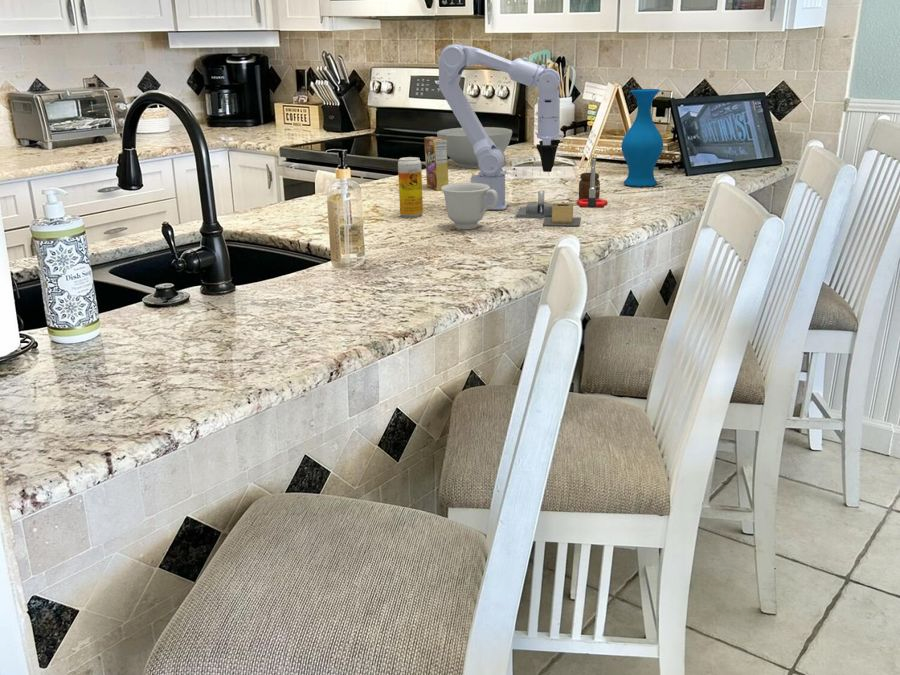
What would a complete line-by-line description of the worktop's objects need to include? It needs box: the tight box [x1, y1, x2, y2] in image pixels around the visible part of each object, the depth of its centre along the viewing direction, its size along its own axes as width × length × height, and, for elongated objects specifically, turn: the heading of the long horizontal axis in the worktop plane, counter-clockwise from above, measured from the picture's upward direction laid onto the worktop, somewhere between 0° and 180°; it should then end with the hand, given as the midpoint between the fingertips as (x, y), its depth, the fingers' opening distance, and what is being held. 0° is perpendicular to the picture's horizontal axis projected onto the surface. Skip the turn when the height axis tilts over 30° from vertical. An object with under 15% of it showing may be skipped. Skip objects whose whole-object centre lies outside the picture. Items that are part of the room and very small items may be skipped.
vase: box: [621, 88, 664, 188], centre depth 253 cm, size 12×13×28 cm
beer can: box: [397, 156, 424, 219], centre depth 221 cm, size 6×6×15 cm
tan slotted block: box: [552, 202, 574, 223], centre depth 210 cm, size 5×5×4 cm
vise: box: [515, 190, 553, 219], centre depth 220 cm, size 13×10×6 cm
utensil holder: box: [578, 154, 601, 200], centre depth 238 cm, size 6×6×12 cm
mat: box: [542, 216, 582, 228], centre depth 211 cm, size 9×9×1 cm
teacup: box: [441, 182, 498, 230], centre depth 207 cm, size 12×15×10 cm
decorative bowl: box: [436, 126, 513, 169], centre depth 301 cm, size 27×27×12 cm
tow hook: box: [576, 158, 608, 208], centre depth 230 cm, size 8×13×9 cm
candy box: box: [424, 136, 449, 192], centre depth 259 cm, size 9×4×15 cm, turn 23°
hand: (548, 169), depth 225 cm, fingers open, 7 cm apart
